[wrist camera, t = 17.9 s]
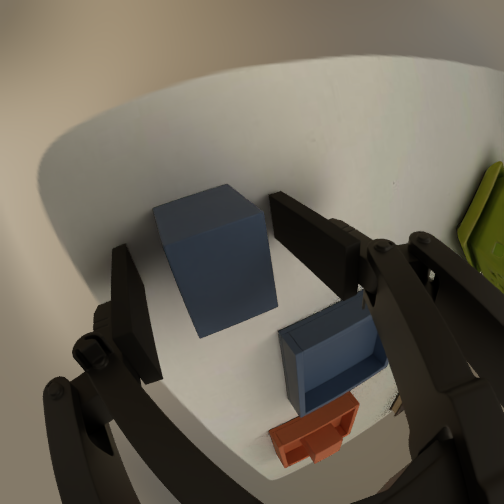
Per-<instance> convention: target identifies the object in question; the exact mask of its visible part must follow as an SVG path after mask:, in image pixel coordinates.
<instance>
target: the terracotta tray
mask: <svg viewBox="0 0 504 504" xmlns="http://www.w3.org/2000/svg"><path fill="white" fill-rule="evenodd" d="M359 404H360V403H359V402H358V401H357V400H356V398H355V397H354V396H353V395H352V393H351V392H350V391H348V392H347V393H345V394H343V395H342V396H340V397H338V398H337V399H335V400H333V401H331V402H330V403H328V404H326V405H324V406H322V407H321V408H319V409H317V410H315V411H313V412H311V413H309V414H307V415H305V416H304V417H302V418H300V417H297V418H295V419H293V420H291V421H289V422H287V423H284V424H282V425H280V426H278V427H276V428H274V429H271V430H269V433H270V436H271V439H272V442H273V445H274V447H275V450H276V453H277V456H278V457H279V459H280V461H281V463H282V464H283V466H284V468H287V467H288V466H291V465H293V464H295V463H297V462H299V461H301V460H303V459H305V458H307V457H309V454H308V453H307V451H306V450H305V448H304V447H303V445H302V443H301V442H300V439H301V438H303V437H305V436H307V435H309V434H311V433H313V432H315V431H317V430H318V429H320V428H322V427H324V426H326V425H328V424H329V423H331V424H332V425H333V426H334V428H335V429H336V431H337V432H338V433H339V435H340V436H341V437H342V438H343V437H345V436H347V435H348V434H350V432H351V429H352V426H353V423H354V420H355V417H356V414H357V411H358V408H359Z"/></svg>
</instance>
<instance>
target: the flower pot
mask: <svg viewBox="0 0 504 504" xmlns="http://www.w3.org/2000/svg"><path fill="white" fill-rule="evenodd" d="M457 231H458V232H457V234H458V238H459V241H460V244H461V246H462V249H463V251H464V254H465V256H466V259H467V261H468V263H469V264H470V265H471V266H472V267H474V268H475V269H476V270H477V271H478V272H479V273H480V272H482V273H483V275H484V277H485V278H486V279H488V280H489V281H490V282H491V283H492V284H493V285H494V286H495V287H497V288H498V289H499V290H500V291H501V292H502V293H503V294H504V166H503V163H502V162H501V161H499V162H496V163H494V164H493V165H491V166H490V167H489V168H488V169H487V171H486V172H485V174H484V177H483V180H482V182H481V184H480V186H479V188H478V190H477V192H476V195H475V197H474V199H473V201H472V203H471V205H470V207H469V209H468V211H467V213H466V215H465V217H464V219H463V221H462V223H460V224H459V225H458V227H457Z"/></svg>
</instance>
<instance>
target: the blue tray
mask: <svg viewBox="0 0 504 504" xmlns="http://www.w3.org/2000/svg"><path fill="white" fill-rule="evenodd" d="M363 291H364V289H363V290H361V291H359V292H358V293H357V295H355V296H353V297H351V298H349V299H347V300H345V301H343V300H342V301H340V302H338V303H336V304H334V305H332V306H330V307H328V308H326V309H324V310H322V311H320V312H318V313H316V314H314V315H312V316H310V317H308V318H306V319H304V320H302V321H300V322H297V323H295V324H293V325H291V326H289V327H287V328H285V329H282V330H280V331H278V333H279V339H280V346H281V352H282V359H283V366H284V373H285V379H286V386H287V393H288V399H289V401H290V402H291V404H292V406H293V407H294V409H295V410H296V412H297V413H298V415H299V417H300V418H302V417H304V416H305V415H307V414H309V413H311V412H313V411H315V410H317V409H319V408H321V407H322V406H324V405H326V404H328V403H330V402H331V401H333V400H335V399H337V398H338V397H340V396H342V395H343V394H345V393H347V392H348V391H350V390H352V389H353V388H355V387H357V386H358V385H360V384H361V383H363V382H364V381H366V380H368V379H369V378H371V377H372V376H374V375H375V374H377V373H378V372H380V371H381V370H383V369H384V368H385V367H387V365H388V359H387V356H386V353H385V350H384V348H383V345H382V342H381V340H380V337H379V334H378V332H377V329H376V326H375V324H374V321H373V319H372V316H371V314H370V311H369V309H368V306H367V304H365V309H363V310H362V300H363Z"/></svg>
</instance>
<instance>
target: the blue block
mask: <svg viewBox="0 0 504 504" xmlns="http://www.w3.org/2000/svg"><path fill="white" fill-rule="evenodd" d="M153 213H154V216H155V220H156V224H157V228H158V231H159V235H160V238H161V242H162V245H163V249H164V251H165V254H166V257H167V260H168V262H169V265H170V268H171V270H172V273H173V275H174V278H175V281H176V283H177V286H178V288H179V291H180V293H181V296H182V298H183V301H184V303H185V306H186V308H187V310H188V313H189V315H190V318H191V320H192V322H193V325H194V327H195V329H196V332H197V334H198V336H199V338H203V337H206V336H208V335H211V334H213V333H216V332H218V331H221V330H223V329H226V328H228V327H231V326H233V325H236V324H238V323H241V322H243V321H246V320H248V319H250V318H253V317H255V316H258V315H260V314H262V313H265V312H267V311H269V310H272V309H274V308H276V307H278V302H277V296H276V289H275V282H274V275H273V269H272V262H271V256H270V249H269V243H268V236H267V230H266V224H265V217H264V212H263V211H262V210H261V209H259V208H258V207H257V206H255V205H254V204H253V203H252V202H250V201H249V200H248V199H246V198H245V197H244V196H243V195H241V194H240V193H239V192H237V191H236V190H235V189H234V188H232V187H231V186H230V185H228V184H225V185H222V186H219V187H215V188H212V189H209V190H206V191H203V192H199V193H196V194H193V195H190V196H187V197H184V198H181V199H178V200H175V201H172V202H169V203H166V204H164V205H161V206H158V207H155V208H153Z"/></svg>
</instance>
